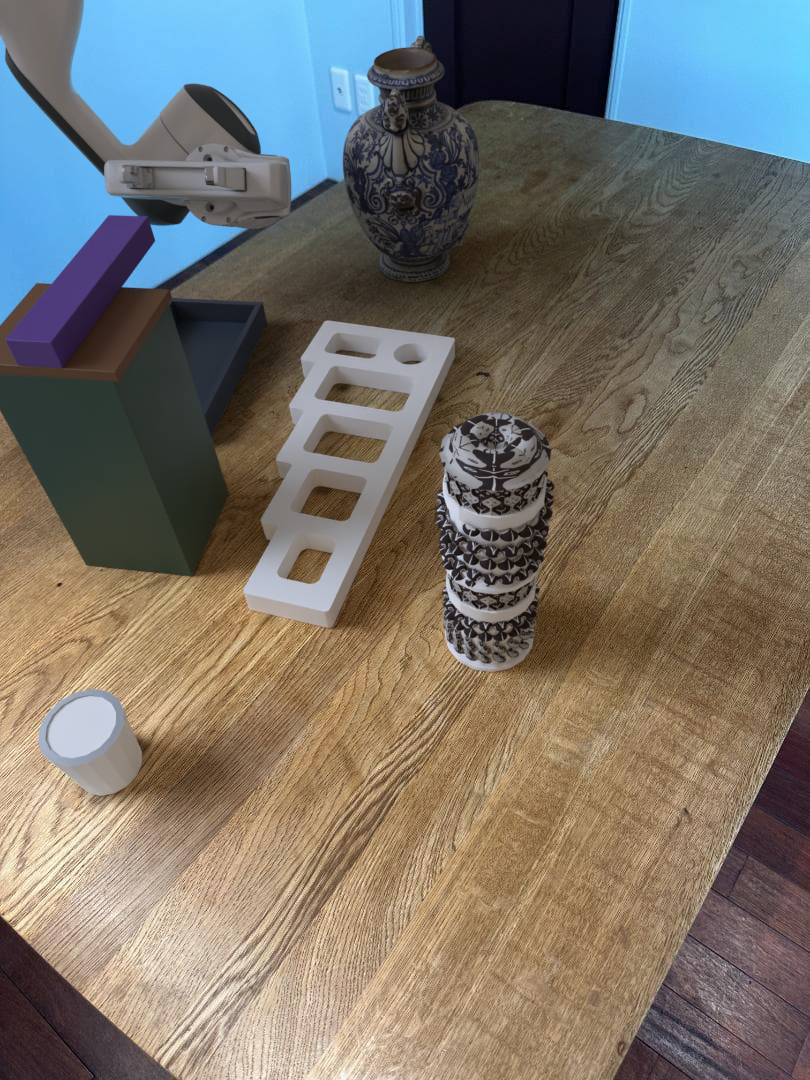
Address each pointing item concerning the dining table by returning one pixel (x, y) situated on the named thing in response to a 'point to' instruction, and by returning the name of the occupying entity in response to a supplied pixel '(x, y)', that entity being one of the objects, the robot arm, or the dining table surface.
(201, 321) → the tray
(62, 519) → the brown-capped green pillar
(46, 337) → the purple bar
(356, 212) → the decorative vase
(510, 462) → the decorative candle
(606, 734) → the dining table surface
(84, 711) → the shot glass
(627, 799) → the dining table surface
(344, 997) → the dining table surface
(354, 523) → the holder
